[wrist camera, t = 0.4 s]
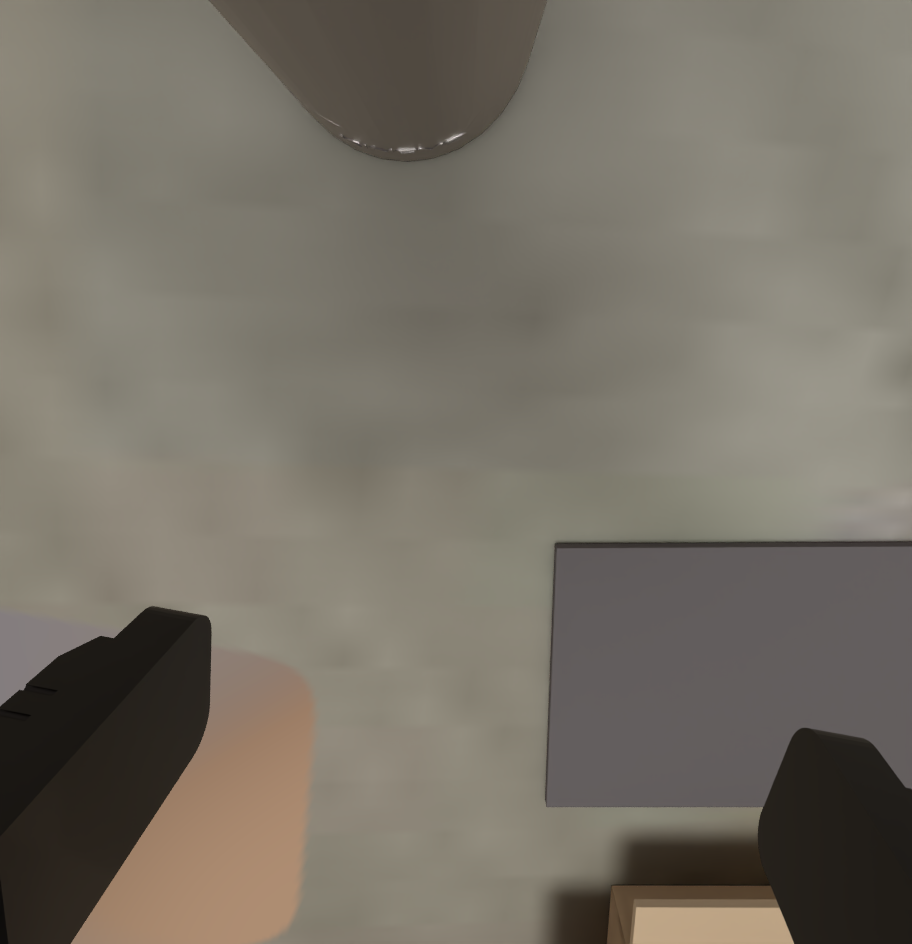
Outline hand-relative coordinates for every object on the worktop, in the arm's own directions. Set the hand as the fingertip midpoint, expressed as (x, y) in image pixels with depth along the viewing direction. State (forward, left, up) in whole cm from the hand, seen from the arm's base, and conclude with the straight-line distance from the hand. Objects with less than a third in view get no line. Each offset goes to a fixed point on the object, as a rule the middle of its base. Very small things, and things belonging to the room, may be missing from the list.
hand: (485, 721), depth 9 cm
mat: (+12, +13, -18) cm, 26 cm away
